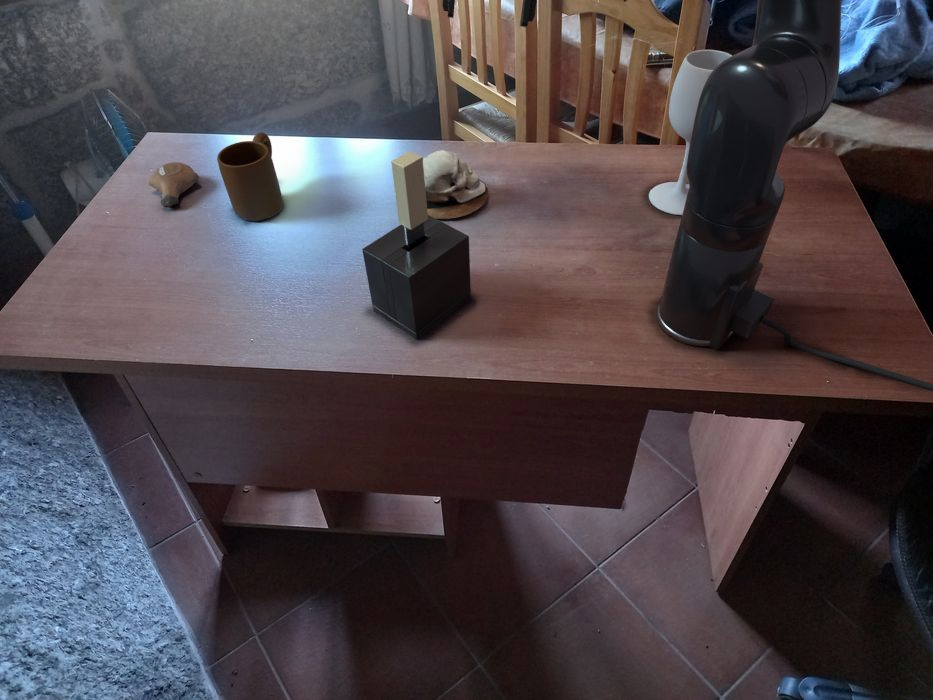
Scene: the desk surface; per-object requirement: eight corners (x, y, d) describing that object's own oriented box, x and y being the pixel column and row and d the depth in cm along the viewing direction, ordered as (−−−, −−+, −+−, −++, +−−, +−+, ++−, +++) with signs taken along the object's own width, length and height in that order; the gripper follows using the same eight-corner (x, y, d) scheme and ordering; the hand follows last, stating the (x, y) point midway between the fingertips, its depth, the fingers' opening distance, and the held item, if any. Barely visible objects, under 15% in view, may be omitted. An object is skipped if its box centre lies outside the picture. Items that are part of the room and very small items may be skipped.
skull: (485, 165, 105) (489, 144, 95) (487, 229, 105) (491, 214, 95) (411, 166, 105) (407, 145, 95) (412, 230, 105) (408, 216, 95)
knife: (435, 296, 84) (422, 156, 70) (419, 307, 83) (404, 167, 68) (424, 289, 85) (409, 150, 71) (408, 301, 84) (390, 161, 69)
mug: (255, 178, 107) (239, 124, 100) (300, 181, 106) (287, 126, 99) (226, 221, 99) (206, 165, 92) (274, 224, 98) (257, 168, 91)
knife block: (471, 298, 85) (469, 235, 78) (416, 339, 80) (409, 277, 73) (427, 272, 89) (421, 211, 82) (373, 310, 84) (361, 248, 77)
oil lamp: (139, 204, 104) (175, 217, 101) (127, 184, 101) (163, 197, 98) (179, 170, 109) (214, 183, 106) (168, 150, 105) (204, 162, 103)
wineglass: (690, 179, 103) (724, 42, 88) (718, 210, 97) (760, 68, 82) (639, 189, 101) (664, 51, 86) (664, 220, 96) (697, 78, 80)
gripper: (437, -170, 65) (424, 12, 72) (578, -150, 66) (552, 28, 73) (438, -148, 72) (426, 16, 78) (566, -131, 73) (543, 30, 79)
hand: (487, 21), depth 75 cm, fingers open, 8 cm apart
